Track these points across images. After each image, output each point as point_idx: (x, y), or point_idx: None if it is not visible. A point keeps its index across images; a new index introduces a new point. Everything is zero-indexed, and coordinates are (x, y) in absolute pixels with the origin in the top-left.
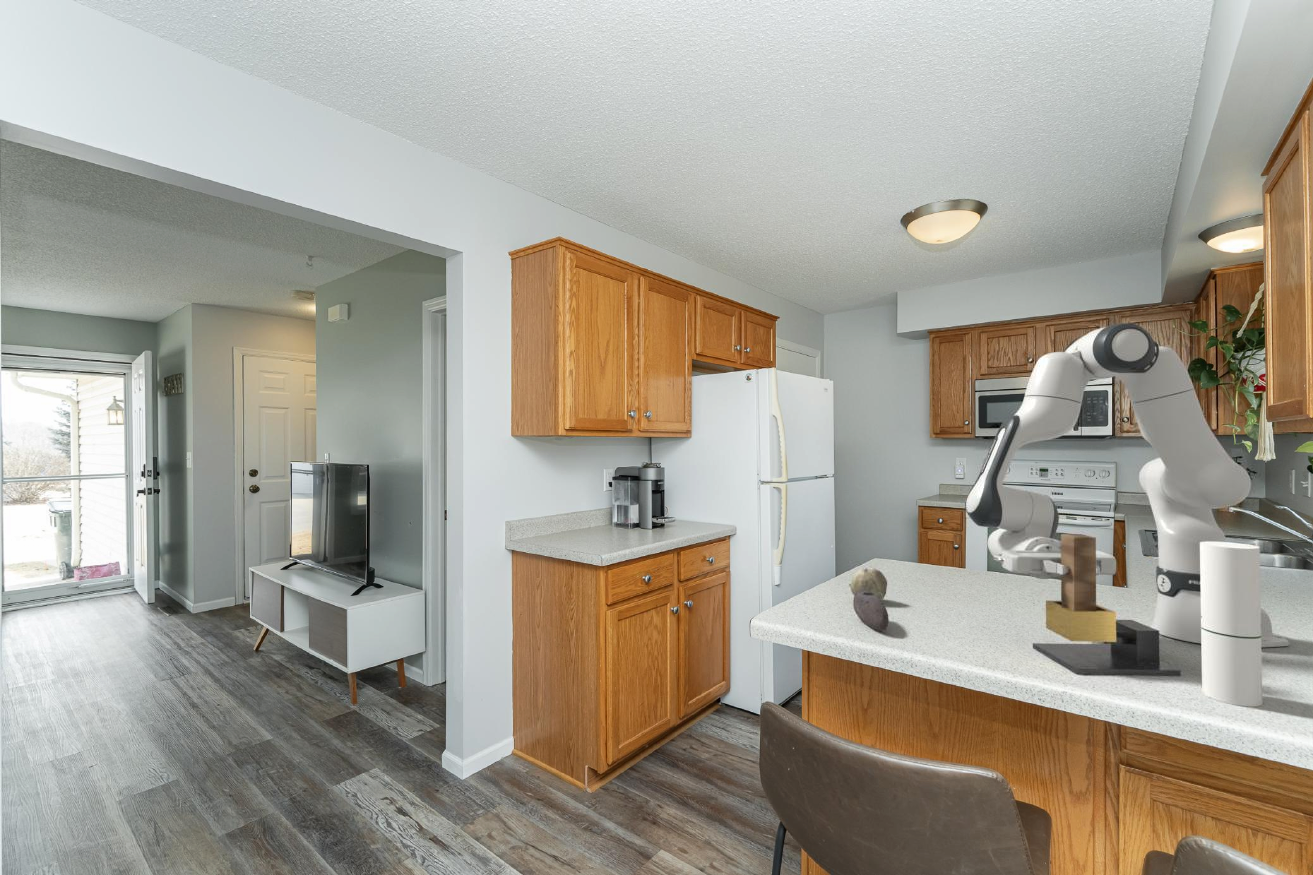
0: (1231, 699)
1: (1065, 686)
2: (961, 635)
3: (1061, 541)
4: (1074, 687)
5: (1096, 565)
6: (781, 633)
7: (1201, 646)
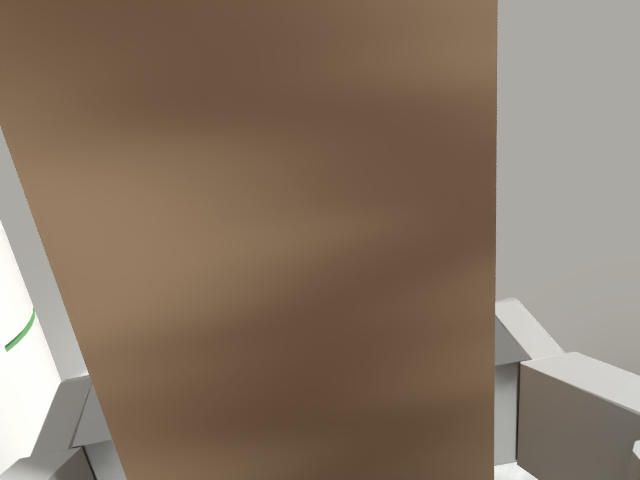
0: None
1: (529, 476)
2: None
3: (489, 42)
4: (500, 476)
5: (66, 393)
6: None
7: (25, 419)
